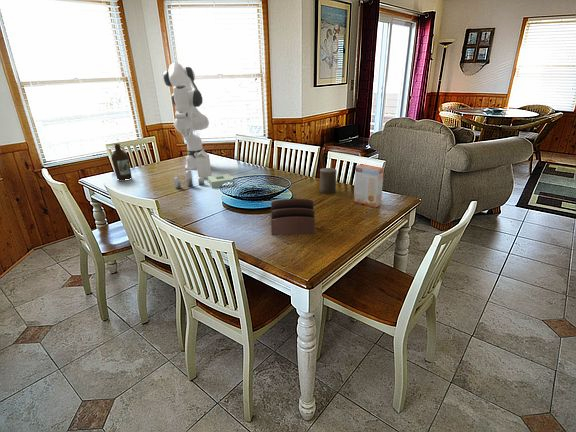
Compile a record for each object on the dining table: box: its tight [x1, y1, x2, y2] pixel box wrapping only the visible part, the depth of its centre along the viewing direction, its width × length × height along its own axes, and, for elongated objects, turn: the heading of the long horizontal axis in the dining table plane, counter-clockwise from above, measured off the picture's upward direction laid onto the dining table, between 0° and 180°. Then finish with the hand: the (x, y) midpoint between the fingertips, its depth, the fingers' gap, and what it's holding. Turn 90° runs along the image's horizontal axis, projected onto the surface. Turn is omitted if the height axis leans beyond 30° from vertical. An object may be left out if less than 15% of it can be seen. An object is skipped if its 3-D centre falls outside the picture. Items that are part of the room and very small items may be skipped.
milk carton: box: [196, 148, 212, 179], centre depth 237 cm, size 7×7×19 cm
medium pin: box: [173, 176, 182, 190], centre depth 218 cm, size 4×4×7 cm
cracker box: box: [353, 163, 385, 209], centre depth 183 cm, size 14×6×21 cm, turn 45°
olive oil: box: [111, 142, 133, 180], centre depth 235 cm, size 11×11×25 cm
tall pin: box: [184, 170, 194, 188], centre depth 220 cm, size 4×4×10 cm
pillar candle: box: [319, 167, 337, 195], centre depth 204 cm, size 10×10×15 cm
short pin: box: [197, 177, 205, 187], centre depth 224 cm, size 4×4×5 cm
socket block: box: [207, 173, 234, 189], centre depth 225 cm, size 14×14×4 cm
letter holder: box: [270, 198, 316, 236], centre depth 155 cm, size 10×20×14 cm, turn 91°
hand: (187, 136), depth 214 cm, fingers open, 8 cm apart
